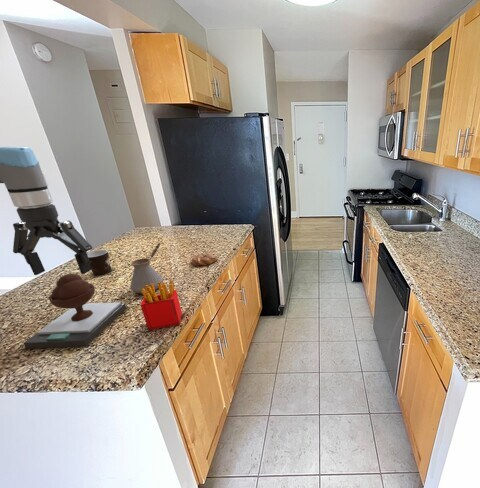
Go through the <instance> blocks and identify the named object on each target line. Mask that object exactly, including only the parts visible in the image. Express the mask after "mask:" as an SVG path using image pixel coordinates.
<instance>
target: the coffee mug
mask: <svg viewBox="0 0 480 488" xmlns="http://www.w3.org/2000/svg"><path fill="white" fill-rule="evenodd" d="M87 255H88V258H89V262H88V263H89V266H90V269H91V270H90V271H91V272H92V274H93V275H94V277H95V276H96V277H100V276H105V275H107V274H110V273H111V272H112V266H111V260H110V255H109V250H107V249H97V250H92V251H88V252H87Z"/></svg>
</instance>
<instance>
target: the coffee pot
mask: <svg viewBox="0 0 480 488" xmlns="http://www.w3.org/2000/svg"><path fill="white" fill-rule="evenodd" d="M161 246H164V244H163V243H160V242H158V243H157V244H156V245H155V248H154V249H153V251H152V252H151V254H150V257H149V258H148V257H147V258H146V257H145V258H144V257H143V258H138V259H135V260H133V261H131V263H130V265H131V266H133V271H132V272H133V273H132V277H131V282H130V285H129V288H130V291H132V292H133V293H137V294H141V295H143V293H142V292H141V289H145V291H146V288H145V286H146V285H148V286H149V287H151V286H150V284H154V288H155V291H157V290H159V288H158V282H161V284H164V278H163V277H162V276H161V274H160V273H158V272H157V271H156V269H154V267H153V266H152V265H151V261H152V259H153V258H154V256H155V255H156V253H157V252H158V249H159V248H160V247H161Z"/></svg>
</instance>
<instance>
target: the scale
mask: <svg viewBox="0 0 480 488" xmlns="http://www.w3.org/2000/svg"><path fill="white" fill-rule="evenodd" d="M82 308H83V310H91V311H92V312H93V314H92V315H91V316H90V317H88V318H86V319H84V320H80V321H72V319H71V317H72V316H73V315H74V314H76V313H77V311H76V309H75V308H73V309H70V308H68V309H67V310H66V311H65V312H64V313H62V314H61V315H59V316H58V317H56V318H55V319H53V321H51V322H49V323H48V324H47V325H46V326H44V327H43V328H41V329H40V330H39V331H37V332H36V333H34V335H32V336H31V337H30V338H28V339H26V340H25V341H23V342H22V344H23V346H24V347H25V349H26V350H33V349H36V350H37V349H38V350H39V349H55V348H57V349H58V348H77V347H88V345H90V344H91V343H92V342H93V341H94V340H95V339H96V338H97V337H98V336H100V334H102V332H103V331H104V330H105V329H107V328H108V327H109V326H110V325H111V324H112V323H113V322H114V321H115V320H116V319H117V318H118V317H120V316H121V314H123V313H124V312H125V311H126V310H127V305H126V303H124V302H122V303H121V301H118V302H114V301H113V302H91V303H88V302H87V303H86V304H84V305H83V306H82Z"/></svg>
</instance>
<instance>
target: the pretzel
mask: <svg viewBox="0 0 480 488" xmlns="http://www.w3.org/2000/svg"><path fill="white" fill-rule="evenodd" d="M217 260H218V258H217V257H216V256H215V255H214V254H210V253H199V254H196V255H194V256H192V258H191V264H193V266H195V267H202V266H209V265H211V264H214V263H216V262H217Z"/></svg>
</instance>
